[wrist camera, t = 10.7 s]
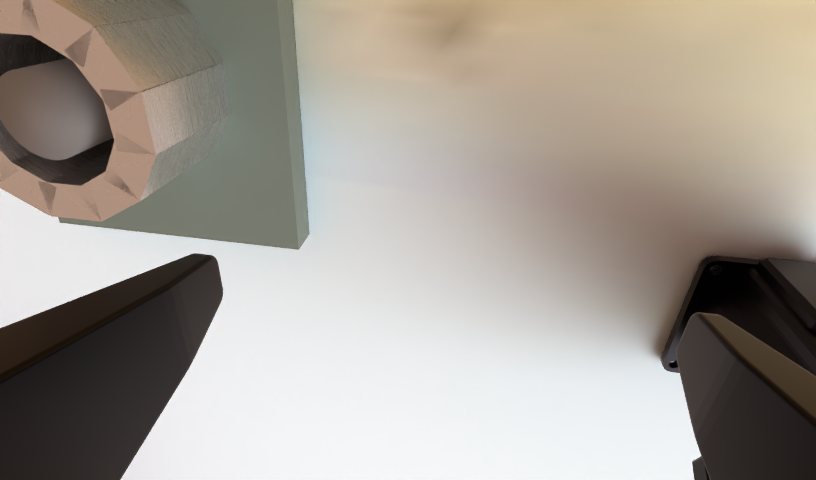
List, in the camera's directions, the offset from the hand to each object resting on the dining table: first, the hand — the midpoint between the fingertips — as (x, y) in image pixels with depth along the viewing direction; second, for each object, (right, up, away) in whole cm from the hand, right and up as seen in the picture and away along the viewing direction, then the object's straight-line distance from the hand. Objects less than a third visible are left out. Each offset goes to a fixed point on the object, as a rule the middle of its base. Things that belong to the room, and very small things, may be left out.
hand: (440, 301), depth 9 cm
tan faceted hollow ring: (-11, +8, +10) cm, 17 cm away
